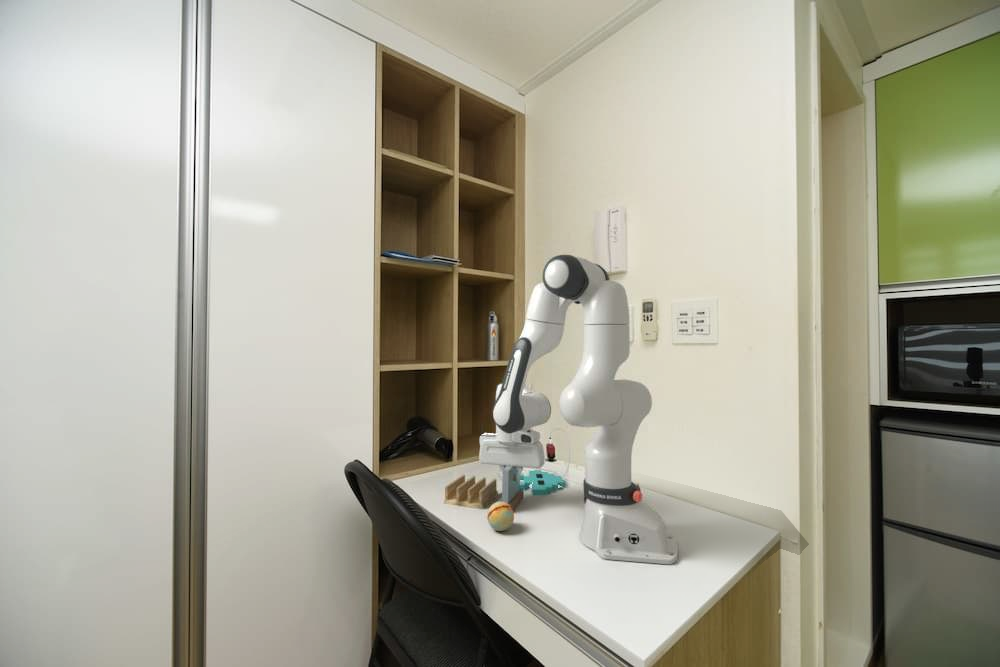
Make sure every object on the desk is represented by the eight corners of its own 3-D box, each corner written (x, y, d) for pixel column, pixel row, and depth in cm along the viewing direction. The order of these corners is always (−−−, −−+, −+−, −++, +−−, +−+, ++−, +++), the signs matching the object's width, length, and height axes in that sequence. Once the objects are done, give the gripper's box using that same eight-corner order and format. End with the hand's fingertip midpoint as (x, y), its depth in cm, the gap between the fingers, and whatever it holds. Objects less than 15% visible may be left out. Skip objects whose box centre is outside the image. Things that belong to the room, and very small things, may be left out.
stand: (523, 498, 121) (523, 490, 121) (511, 513, 109) (510, 504, 109) (509, 496, 122) (509, 488, 122) (496, 511, 111) (496, 502, 111)
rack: (497, 494, 124) (497, 478, 124) (482, 509, 112) (482, 491, 113) (461, 489, 128) (461, 474, 129) (444, 503, 117) (444, 486, 117)
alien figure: (505, 496, 123) (567, 496, 123) (504, 489, 123) (567, 489, 123) (505, 476, 143) (558, 476, 143) (505, 470, 143) (558, 470, 143)
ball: (486, 524, 103) (486, 497, 103) (512, 522, 104) (511, 496, 104) (488, 537, 96) (488, 508, 96) (516, 535, 97) (515, 507, 97)
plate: (519, 492, 120) (520, 460, 121) (507, 505, 110) (508, 470, 110) (514, 491, 121) (514, 459, 121) (501, 504, 111) (502, 469, 111)
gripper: (475, 434, 117) (476, 480, 116) (539, 437, 110) (541, 487, 109) (483, 430, 123) (484, 474, 122) (545, 433, 116) (546, 480, 115)
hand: (511, 480), depth 116 cm, fingers closed on plate, 2 cm apart
